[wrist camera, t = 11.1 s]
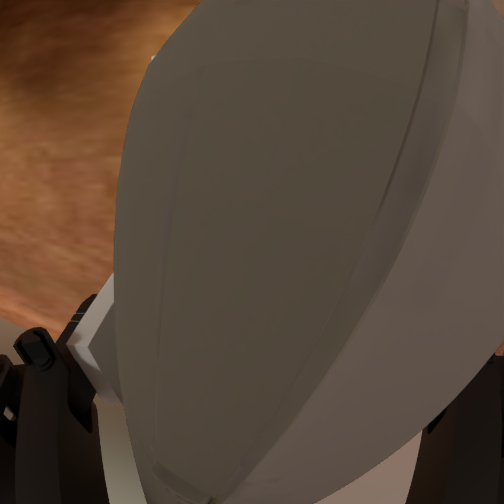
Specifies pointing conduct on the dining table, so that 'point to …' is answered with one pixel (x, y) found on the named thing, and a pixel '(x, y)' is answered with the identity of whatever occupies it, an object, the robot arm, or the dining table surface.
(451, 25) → the digital clock
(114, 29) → the dining table surface
